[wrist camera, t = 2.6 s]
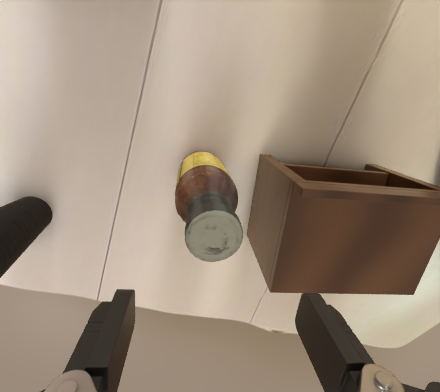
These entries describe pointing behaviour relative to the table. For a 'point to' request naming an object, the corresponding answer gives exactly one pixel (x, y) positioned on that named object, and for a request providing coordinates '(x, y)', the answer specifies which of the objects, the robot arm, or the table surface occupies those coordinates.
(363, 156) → the table surface
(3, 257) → the drinking cup
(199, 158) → the sauce bottle
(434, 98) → the table surface
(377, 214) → the shelf
